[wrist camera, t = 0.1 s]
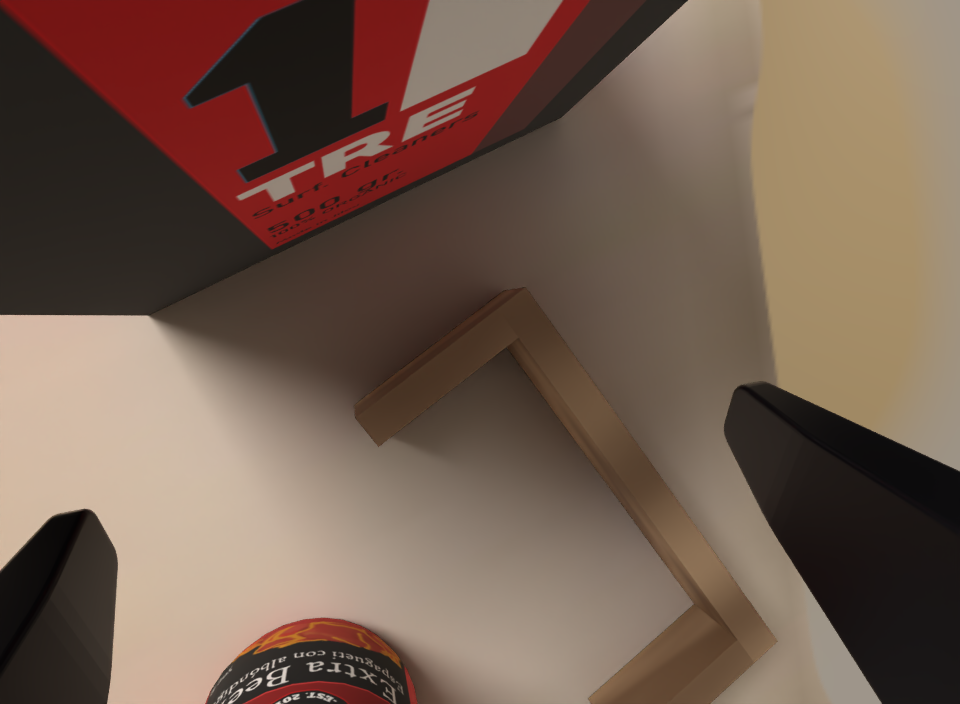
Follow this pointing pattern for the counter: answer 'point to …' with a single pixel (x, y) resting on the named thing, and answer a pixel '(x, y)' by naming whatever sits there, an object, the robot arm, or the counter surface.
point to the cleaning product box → (256, 125)
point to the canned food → (316, 668)
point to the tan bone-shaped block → (629, 474)
